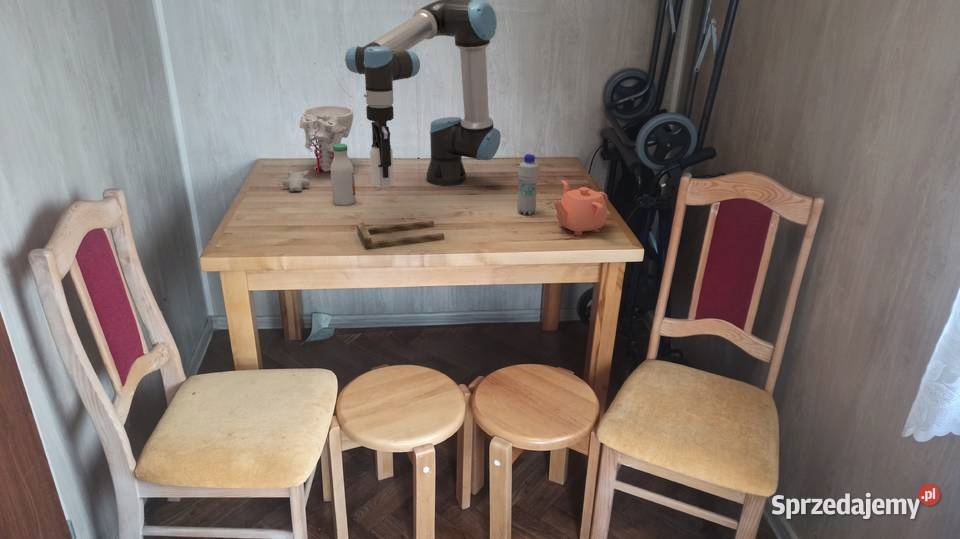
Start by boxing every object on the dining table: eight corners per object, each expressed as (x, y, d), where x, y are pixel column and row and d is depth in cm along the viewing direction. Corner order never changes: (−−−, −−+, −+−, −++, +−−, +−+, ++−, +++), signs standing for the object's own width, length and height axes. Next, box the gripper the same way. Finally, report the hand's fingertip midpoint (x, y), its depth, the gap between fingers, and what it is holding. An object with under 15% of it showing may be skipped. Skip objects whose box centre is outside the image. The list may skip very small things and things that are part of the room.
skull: (313, 162, 261) (308, 105, 251) (360, 162, 262) (356, 105, 252) (300, 181, 239) (293, 120, 229) (351, 182, 240) (346, 121, 230)
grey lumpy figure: (280, 183, 225) (284, 165, 238) (282, 196, 228) (286, 178, 240) (308, 182, 227) (311, 165, 239) (309, 195, 229) (312, 177, 242)
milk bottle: (350, 206, 217) (346, 149, 208) (329, 204, 218) (324, 147, 209) (359, 199, 224) (355, 142, 215) (338, 197, 225) (333, 141, 216)
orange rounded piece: (550, 234, 199) (554, 193, 193) (558, 215, 214) (561, 176, 208) (603, 241, 196) (608, 199, 190) (607, 221, 210) (611, 181, 204)
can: (372, 181, 193) (370, 142, 187) (394, 182, 193) (392, 142, 188) (370, 188, 187) (368, 148, 182) (393, 188, 187) (391, 148, 182)
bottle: (538, 210, 218) (542, 152, 209) (533, 217, 212) (536, 158, 203) (519, 207, 219) (522, 150, 211) (513, 214, 214) (516, 156, 205)
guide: (432, 224, 204) (432, 214, 203) (444, 239, 194) (444, 228, 193) (357, 233, 196) (356, 223, 195) (365, 249, 186) (364, 238, 185)
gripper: (360, 99, 187) (363, 175, 197) (373, 112, 170) (376, 195, 180) (385, 98, 189) (387, 173, 199) (401, 111, 173) (402, 193, 183)
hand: (382, 183), depth 190 cm, fingers closed on can, 6 cm apart
